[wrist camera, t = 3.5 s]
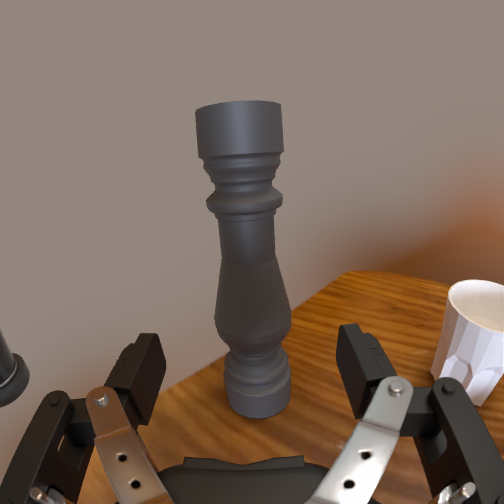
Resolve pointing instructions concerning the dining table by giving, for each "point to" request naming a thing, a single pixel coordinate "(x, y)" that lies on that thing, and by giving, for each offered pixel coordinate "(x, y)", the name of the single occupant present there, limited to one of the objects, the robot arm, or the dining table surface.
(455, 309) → the cup
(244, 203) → the candle holder
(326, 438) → the dining table surface
